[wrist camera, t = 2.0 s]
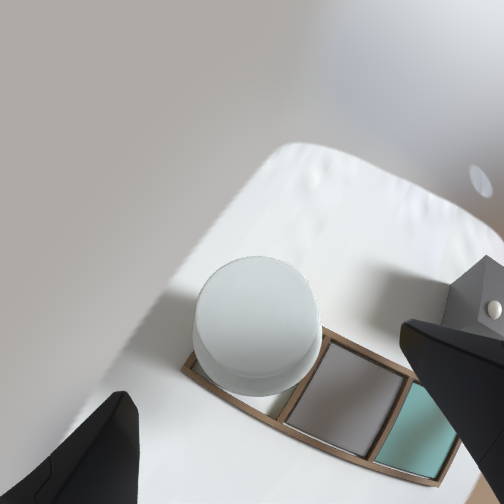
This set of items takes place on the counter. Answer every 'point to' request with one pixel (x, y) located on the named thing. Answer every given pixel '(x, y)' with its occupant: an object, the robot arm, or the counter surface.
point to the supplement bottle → (257, 326)
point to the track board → (363, 412)
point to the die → (478, 300)
